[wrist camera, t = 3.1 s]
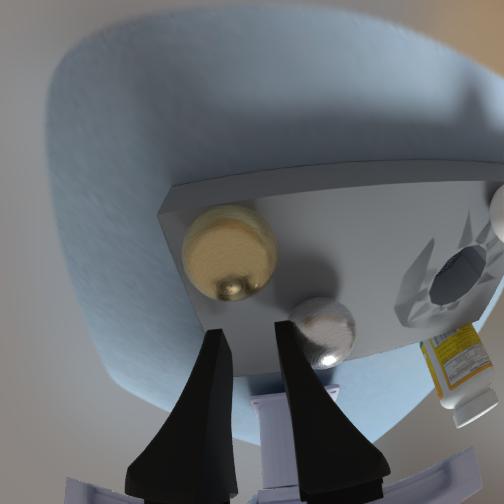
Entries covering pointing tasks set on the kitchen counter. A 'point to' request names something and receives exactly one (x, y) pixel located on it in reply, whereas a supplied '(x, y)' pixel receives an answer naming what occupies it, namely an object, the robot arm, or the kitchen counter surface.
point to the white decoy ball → (498, 213)
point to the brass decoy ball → (230, 253)
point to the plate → (355, 250)
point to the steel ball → (324, 331)
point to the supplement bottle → (461, 373)
